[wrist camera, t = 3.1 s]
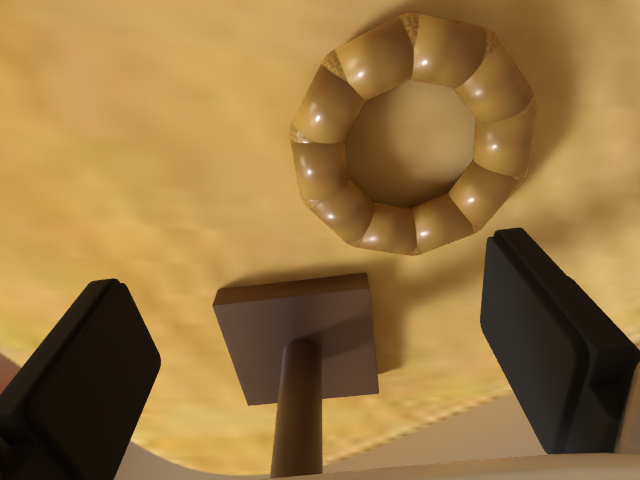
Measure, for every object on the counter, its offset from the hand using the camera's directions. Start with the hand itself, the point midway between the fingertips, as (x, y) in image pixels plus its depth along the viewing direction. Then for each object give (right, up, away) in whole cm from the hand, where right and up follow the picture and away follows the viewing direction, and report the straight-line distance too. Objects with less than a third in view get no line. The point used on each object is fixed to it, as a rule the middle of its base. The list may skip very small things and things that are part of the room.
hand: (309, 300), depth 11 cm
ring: (+4, +6, +8) cm, 11 cm away
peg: (-1, -5, +16) cm, 16 cm away
